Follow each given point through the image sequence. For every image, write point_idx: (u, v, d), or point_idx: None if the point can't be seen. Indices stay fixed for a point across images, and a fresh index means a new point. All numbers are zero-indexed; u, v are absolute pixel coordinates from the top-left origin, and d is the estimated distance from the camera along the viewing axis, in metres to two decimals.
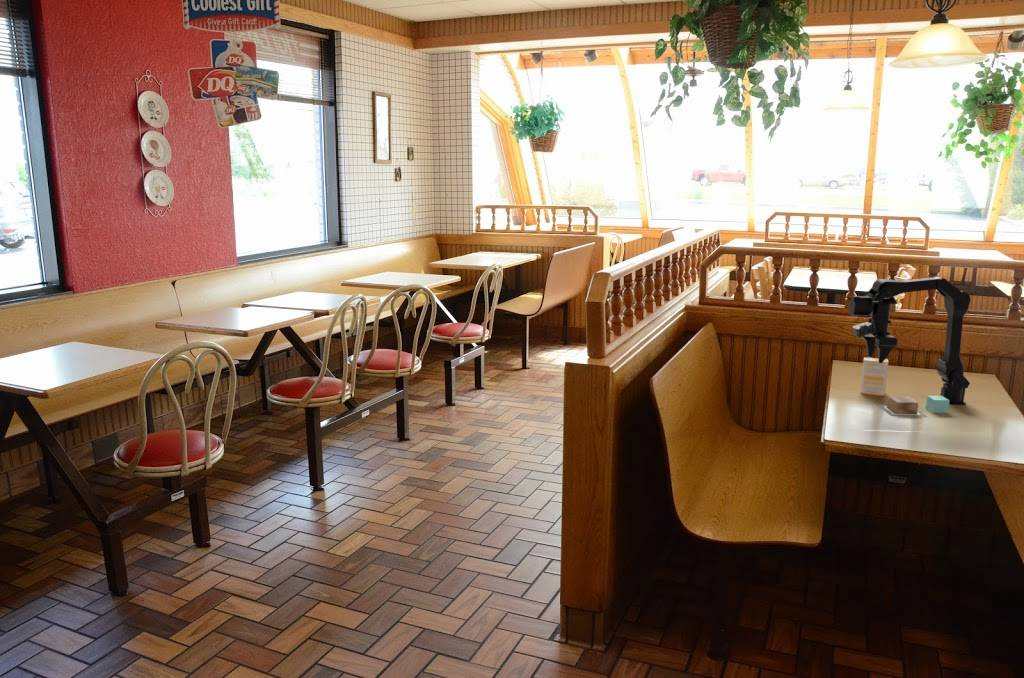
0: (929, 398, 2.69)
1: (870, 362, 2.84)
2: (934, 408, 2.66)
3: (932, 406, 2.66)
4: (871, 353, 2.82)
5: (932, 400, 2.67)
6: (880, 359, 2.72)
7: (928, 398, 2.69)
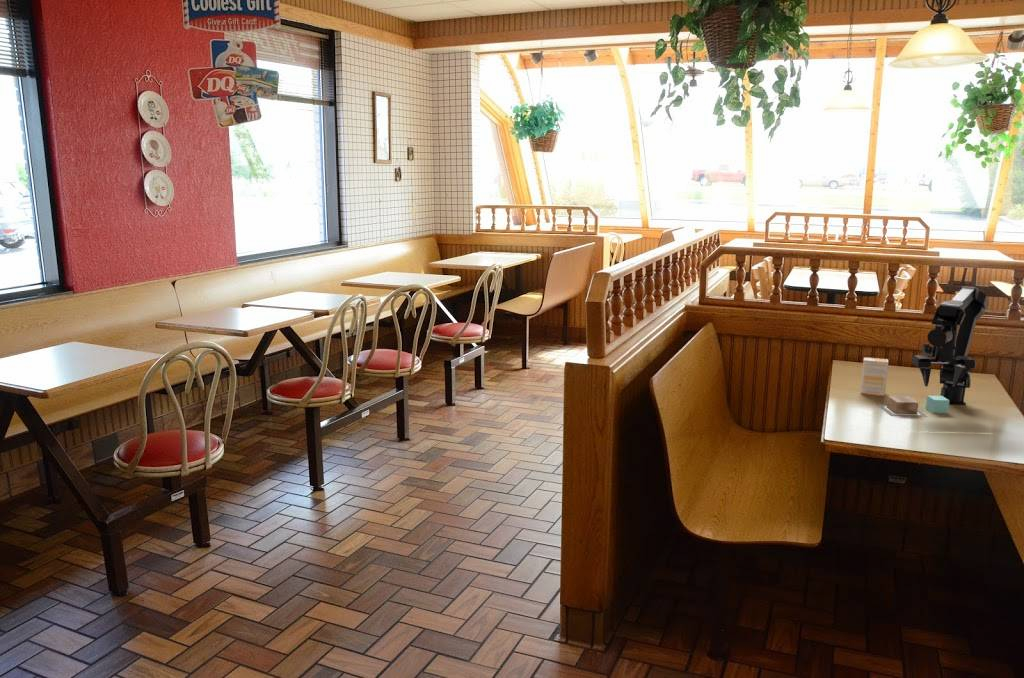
0: (929, 398, 2.69)
1: (870, 362, 2.84)
2: (934, 408, 2.66)
3: (932, 406, 2.66)
4: (954, 383, 2.66)
5: (932, 400, 2.67)
6: (924, 381, 2.67)
7: (928, 398, 2.69)
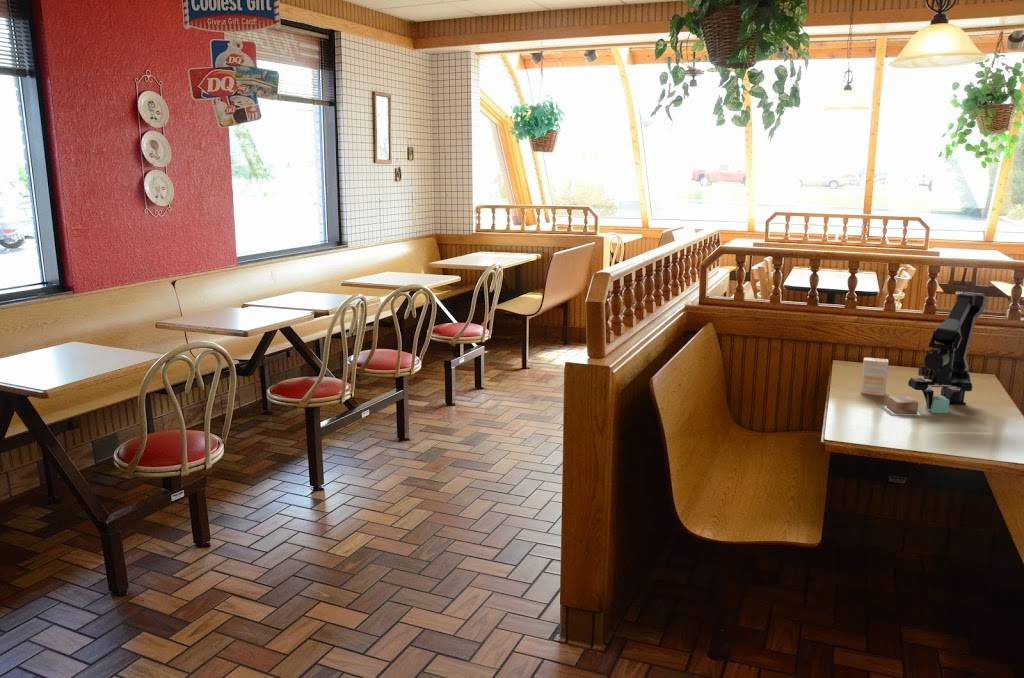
0: None
1: (870, 362, 2.84)
2: (934, 408, 2.66)
3: (932, 406, 2.66)
4: None
5: (932, 400, 2.66)
6: None
7: None
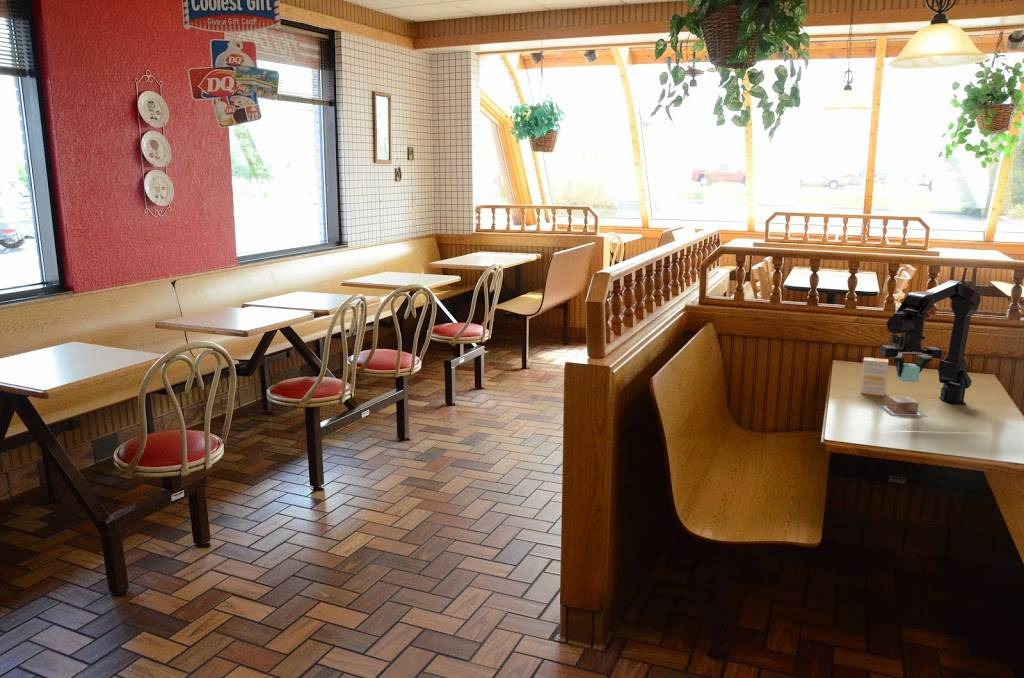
0: None
1: (870, 362, 2.84)
2: (905, 375, 2.63)
3: (903, 373, 2.63)
4: None
5: (903, 367, 2.63)
6: (897, 372, 2.65)
7: None
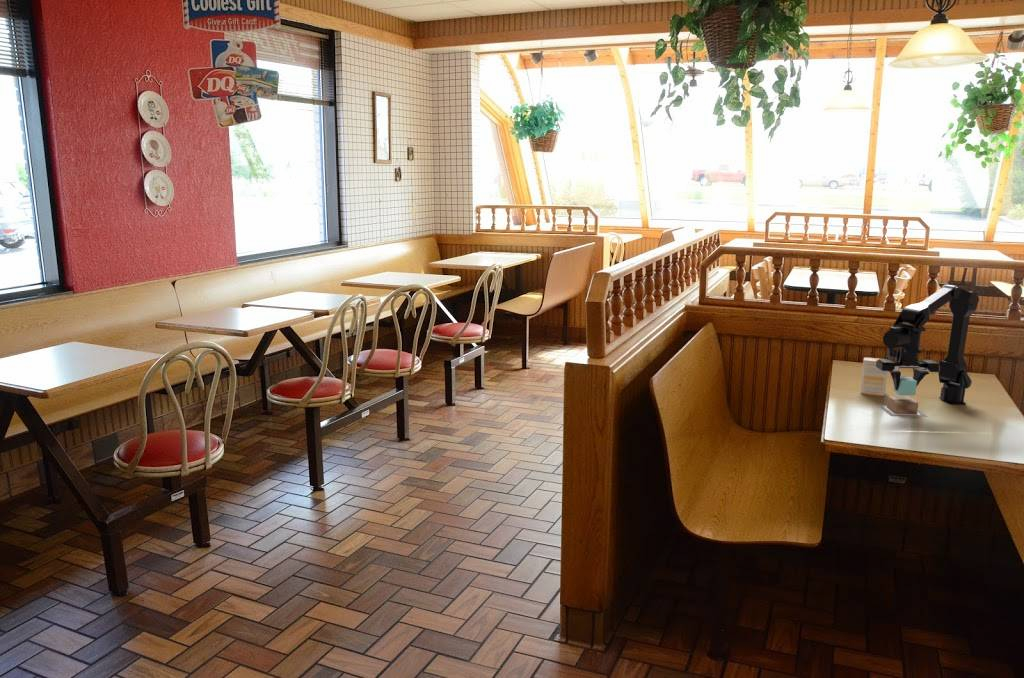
0: None
1: (870, 362, 2.84)
2: (902, 389, 2.64)
3: (900, 387, 2.64)
4: None
5: (900, 381, 2.64)
6: (894, 385, 2.67)
7: None
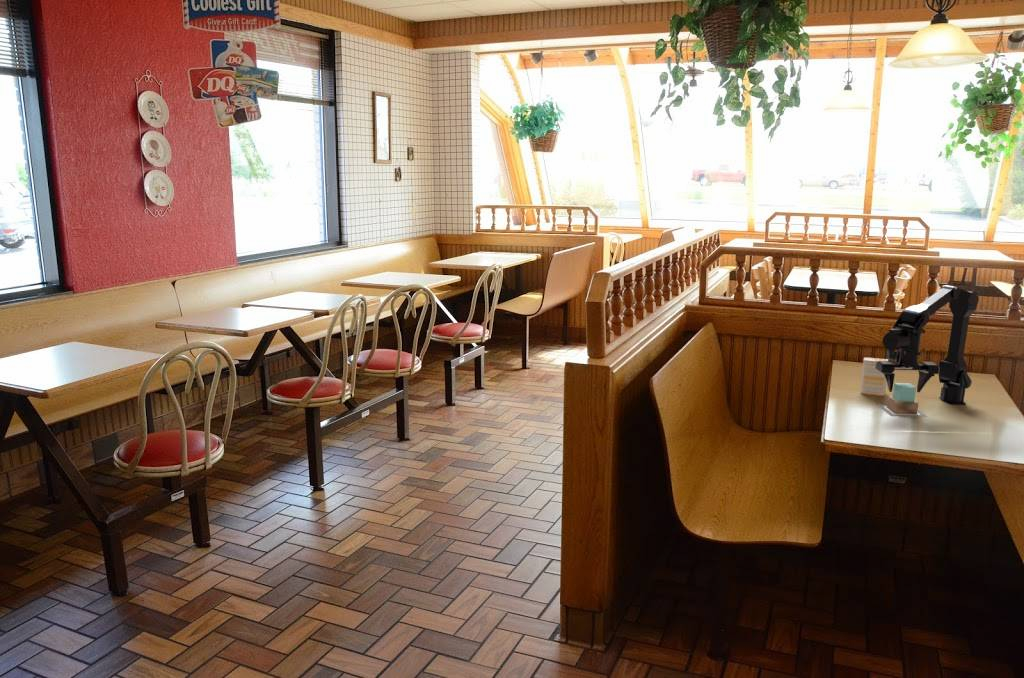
0: (896, 385, 2.67)
1: (870, 362, 2.84)
2: (901, 395, 2.64)
3: (899, 393, 2.65)
4: (918, 389, 2.66)
5: (899, 387, 2.65)
6: (888, 387, 2.67)
7: (895, 385, 2.68)
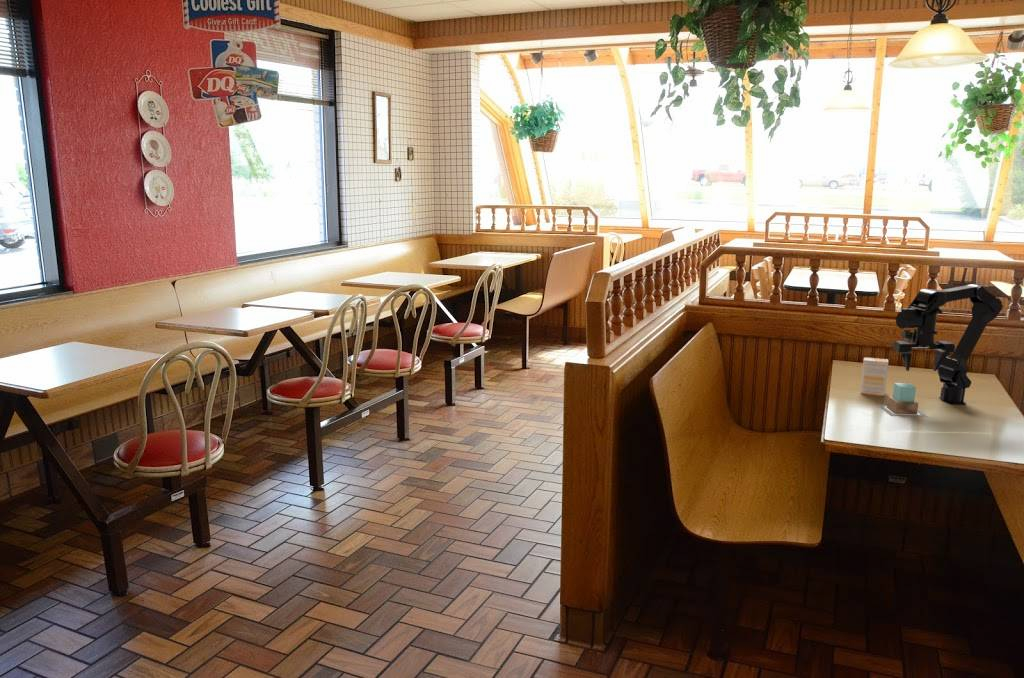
0: (896, 385, 2.67)
1: (870, 362, 2.84)
2: (901, 395, 2.64)
3: (899, 393, 2.65)
4: (934, 367, 2.73)
5: (899, 387, 2.65)
6: (905, 366, 2.74)
7: (895, 385, 2.68)
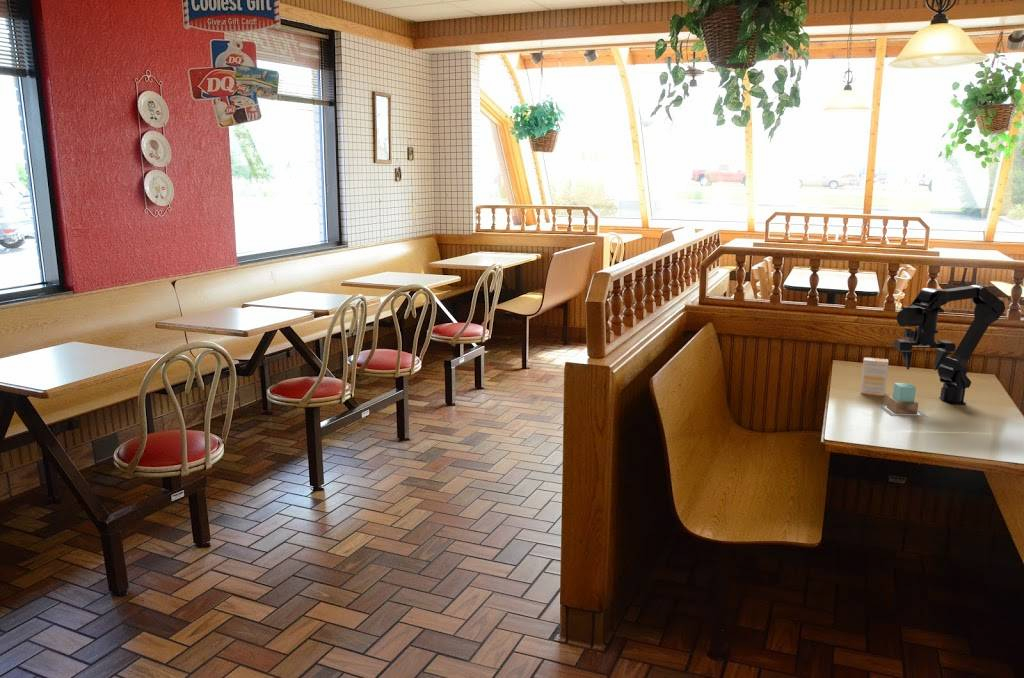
0: (896, 385, 2.67)
1: (870, 362, 2.84)
2: (901, 395, 2.64)
3: (899, 393, 2.65)
4: (935, 366, 2.73)
5: (899, 387, 2.65)
6: (905, 364, 2.74)
7: (895, 385, 2.68)
